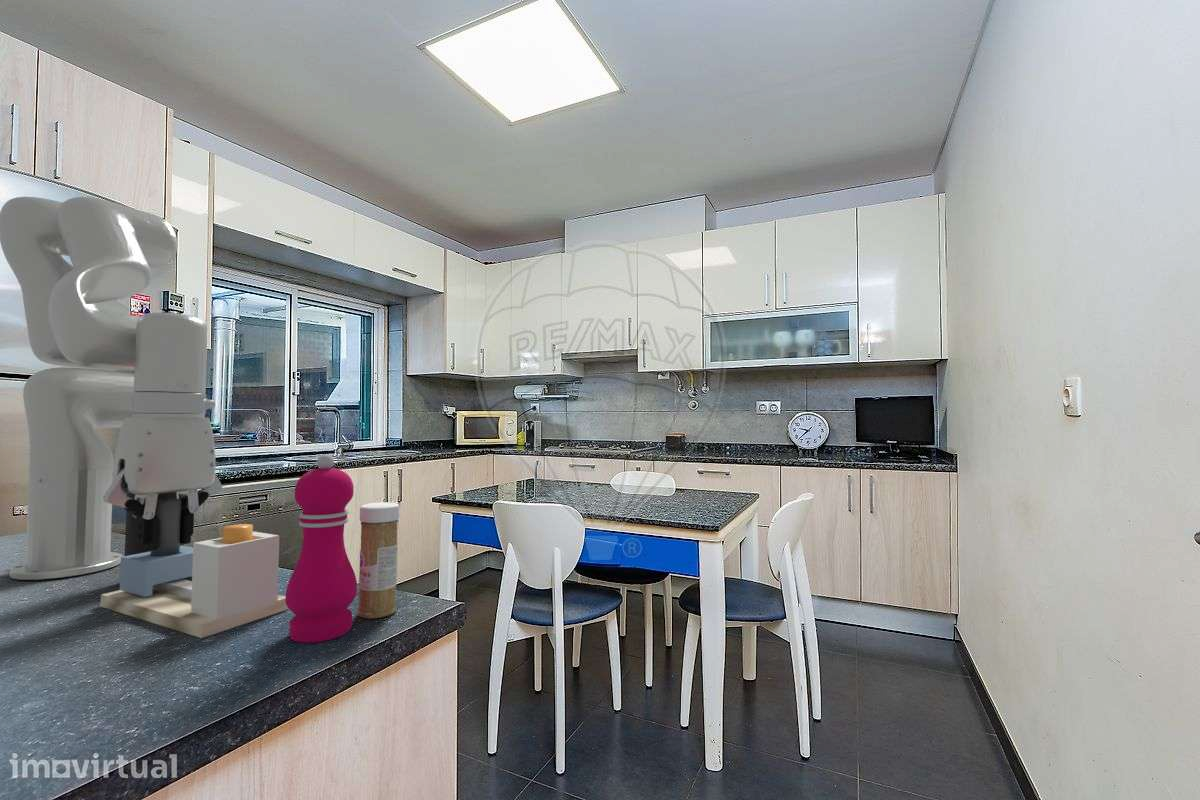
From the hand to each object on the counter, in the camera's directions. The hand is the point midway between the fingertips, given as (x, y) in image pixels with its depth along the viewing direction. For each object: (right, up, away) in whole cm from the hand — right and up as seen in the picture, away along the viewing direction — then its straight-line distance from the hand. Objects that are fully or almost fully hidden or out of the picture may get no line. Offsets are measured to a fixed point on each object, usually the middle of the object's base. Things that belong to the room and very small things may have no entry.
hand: (165, 544), depth 71 cm
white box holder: (+14, -6, -7) cm, 17 cm away
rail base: (+6, -7, -3) cm, 10 cm away
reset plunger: (+14, 0, -7) cm, 16 cm away
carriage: (0, -5, 0) cm, 5 cm away
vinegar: (-8, -8, +8) cm, 14 cm away
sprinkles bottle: (+30, -8, -5) cm, 31 cm away
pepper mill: (+26, -7, -11) cm, 29 cm away
